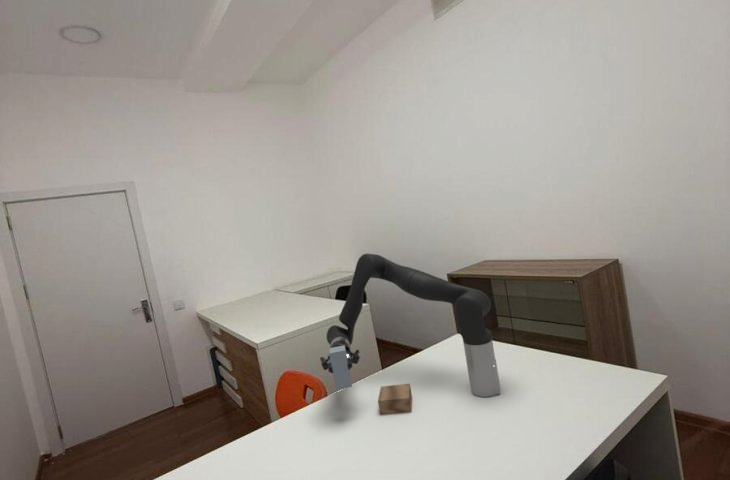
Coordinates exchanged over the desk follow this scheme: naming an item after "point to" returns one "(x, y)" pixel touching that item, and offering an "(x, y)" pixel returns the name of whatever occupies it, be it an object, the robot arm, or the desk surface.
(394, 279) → the robot arm
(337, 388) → the slate pillar
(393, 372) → the desk surface
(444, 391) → the desk surface
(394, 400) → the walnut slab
